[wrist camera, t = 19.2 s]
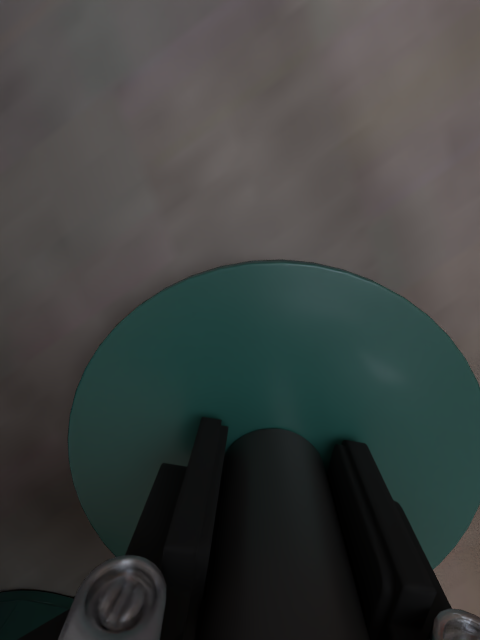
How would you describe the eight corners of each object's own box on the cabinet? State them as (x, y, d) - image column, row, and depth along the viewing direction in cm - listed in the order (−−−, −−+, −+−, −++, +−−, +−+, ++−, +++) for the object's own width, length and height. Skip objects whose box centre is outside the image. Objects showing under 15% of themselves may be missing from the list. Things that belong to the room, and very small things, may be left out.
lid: (92, 225, 9) (-263, 239, 3) (528, 293, 9) (1120, 459, 3) (80, 561, 12) (-105, 915, 6) (406, 615, 12) (561, 1032, 6)
